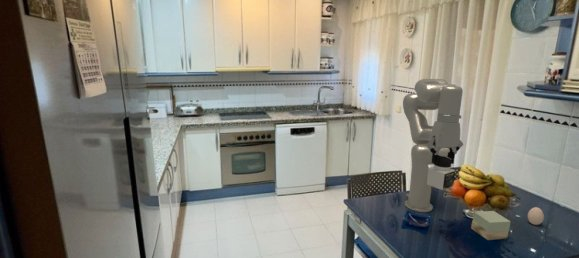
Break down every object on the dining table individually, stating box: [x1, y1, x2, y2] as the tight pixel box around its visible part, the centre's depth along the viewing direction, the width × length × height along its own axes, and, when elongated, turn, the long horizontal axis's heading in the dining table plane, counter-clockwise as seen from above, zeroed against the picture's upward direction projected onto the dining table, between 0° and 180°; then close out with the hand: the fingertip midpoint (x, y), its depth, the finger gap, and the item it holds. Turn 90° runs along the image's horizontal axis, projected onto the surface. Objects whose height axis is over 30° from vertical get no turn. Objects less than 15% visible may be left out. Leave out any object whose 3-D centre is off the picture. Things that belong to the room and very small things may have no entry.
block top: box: [472, 210, 511, 232], centre depth 127 cm, size 9×9×4 cm
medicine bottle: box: [427, 156, 456, 191], centre depth 123 cm, size 7×7×12 cm
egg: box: [527, 206, 545, 226], centre depth 135 cm, size 6×6×8 cm
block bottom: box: [470, 220, 509, 241], centre depth 128 cm, size 9×9×4 cm
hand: (442, 162), depth 122 cm, fingers closed on medicine bottle, 6 cm apart
